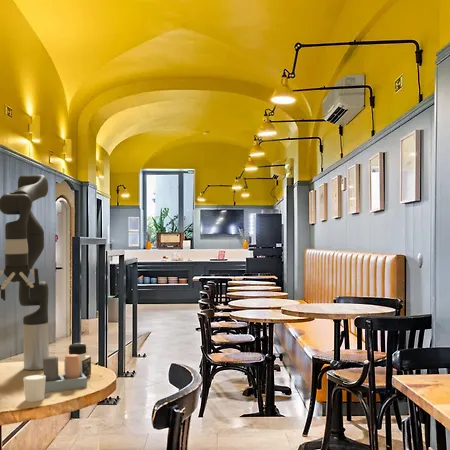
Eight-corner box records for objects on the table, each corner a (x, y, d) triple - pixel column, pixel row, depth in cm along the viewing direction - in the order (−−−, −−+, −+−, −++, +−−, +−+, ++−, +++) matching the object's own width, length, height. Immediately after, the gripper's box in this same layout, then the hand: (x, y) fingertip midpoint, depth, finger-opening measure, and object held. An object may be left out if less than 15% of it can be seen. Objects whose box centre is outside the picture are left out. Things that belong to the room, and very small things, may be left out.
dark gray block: (42, 386, 196) (42, 357, 196) (57, 385, 198) (57, 356, 198) (44, 390, 192) (44, 360, 192) (59, 388, 194) (59, 358, 194)
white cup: (50, 396, 184) (50, 374, 184) (37, 403, 178) (37, 380, 178) (32, 395, 186) (32, 373, 186) (18, 401, 180) (18, 379, 180)
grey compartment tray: (37, 385, 197) (37, 356, 197) (82, 380, 203) (81, 352, 203) (40, 392, 189) (40, 362, 189) (87, 386, 195) (86, 357, 195)
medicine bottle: (82, 380, 204) (82, 346, 204) (64, 379, 206) (63, 345, 206) (91, 374, 211) (90, 342, 211) (73, 374, 212) (72, 341, 213)
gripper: (37, 250, 204) (38, 296, 205) (-7, 252, 199) (-6, 299, 199) (39, 252, 197) (40, 299, 198) (-6, 253, 192) (-5, 302, 192)
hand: (17, 299), depth 198 cm, fingers open, 8 cm apart
